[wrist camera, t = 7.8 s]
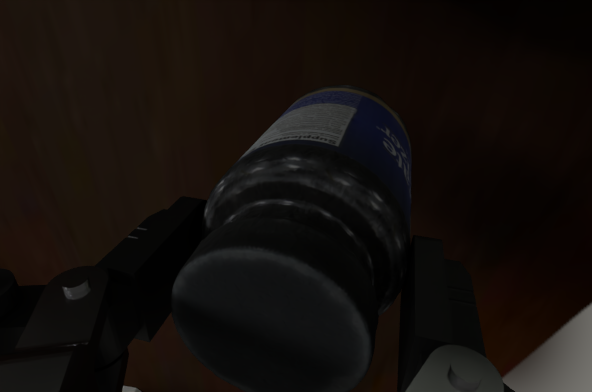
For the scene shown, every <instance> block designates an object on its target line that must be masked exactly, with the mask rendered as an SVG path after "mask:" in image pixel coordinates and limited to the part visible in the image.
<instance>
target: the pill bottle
mask: <svg viewBox="0 0 592 392" xmlns="http://www.w3.org/2000/svg"><path fill="white" fill-rule="evenodd" d="M411 154H412V153H411V143H410V137H409V134H408V132H407V129H406V126H405V124H404V122H403V120H402V119H401V117H400V116H399V115H398V113H397V112H395V111H394V110H393V109H392V108H391V107H388V106H387V105H386V103H385V102H384V101H383V100H382V99H381V98H380V97H379V96H378V95H376V94H375V93H372V92H370V91H368V90H365V89H363V88H359V87H354V86H350V85H338V86H328V87H323V88H319V89H315V90H312V91H311V92H309V93H307V94H306V95H304V96H302V97H301V98H299V99H298V100H296V101H295V102H294V103H293V104H292V105H291V106H290V107H289V108H288V109H287V110H286V111H285V112H284V113H283V115H282V116H281V117H280V118H279V119H278V120H277V121H276V122H275V123H274V124H273V125H272V126H271V127H270V128H269V129H268V130H267V131H266V132H265V133H264V134H263V135H262V136H261V137H260V138H259V139H258V140H257V141H256V143H255V144H254V145H253V146H252V147H251V148H250V149H249V150H248V151H247V152H246V153H245V154H244V155H243V156H242V157H241V158H240V159H239V160H238V161H237V162H236V163H235V164H234V165H233V166H232V167H231V168H230V169H229V170H228V172H227V173H226V174H225V175H224V176H223V177H222V178H221V179H220V180H219V182H218V183H217V184H216V186H215V187H214V189H213V190H212V191H211V194H210V197H209V199H208V201H207V203H206V206H205V209H204V214H203V218H202V226H201V227H202V229H201V230H202V241H201V242H200V244H199V245H198V247H197V248H196V250H195V251H194V252H193V254H192V255H191V256H190V258H189V259H188V260H187V262H186V263H185V265H184V266H183V267H182V269H181V270H180V272H179V274H178V275H177V278H176V280H175V282H174V285H173V289H172V294H171V309H172V317H173V320H174V323H175V325H176V329H177V331H178V333H179V334H180V336H181V338H182V339H183V342H184V343H185V345H186V346H187V347H188V349H189V350H190V351H191V352H192V354H193V355H194V356H195V357H196V358H197V359H198V360H199V361H200V362H201V363H202V364H203V365H204V366H205V367H207V368H208V369H209V370H211V371H212V372H213V373H214V374H215V375H216V376H218V377H219V378H221V379H223V380H224V381H226V382H228V383H230V384H232V385H234V386H236V387H238V388H239V389H241V390H243V391H246V392H348V391H350V390H351V389H353V388H355V387H356V386H357V384H358V383H359V382H361V380H362V379H363V377H364V376H365V375H366V373H367V371H368V369H369V366H370V364H371V361H372V357H373V352H374V348H375V333H376V329H377V325H378V317H379V315H381V314H382V313H384V312H385V311H386V310H387V309H388V308H389V307H390V306H391V305H392V304H393V302H394V300H395V299H396V297H397V295H398V294H399V293H400V291H401V289H402V287H403V285H404V283H405V280H406V275H407V270H408V267H409V258H410V253H411V251H410V221H411V214H410V212H411V163H412V160H411Z"/></svg>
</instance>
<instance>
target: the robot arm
mask: <svg viewBox="0 0 592 392" xmlns="http://www.w3.org/2000/svg"><path fill="white" fill-rule="evenodd" d="M206 203H207V201H206V200H202V199H196V198H190V197H184V196H183V197H180V198H179V199H178V200H177V201H176V202H175V203H174V204H173V205H172V206H171V207H170V208H169V209H168V210H165V209H163V210H161V211H159V212H157V213H155V214H153V215H151V216H149V217H148V218H146V219H145V220H144V221H143V222H142V223H141V224H140V225H139V226H138V227H137V229H134V230H133V231H132V232H131V233H130V234H129V235H128V238H125V239H124V240H123V241H121V242H120V243H119V244H118V245H117V246H116V247H115V248H114V249H113V250H112V251H111V252H109V253H108V254H107V255H106V256H105V257H104V258H103V259H102V260H101V261H100V262H99V263H97V264H96V265H95V266H82V267H77V268H73V269H70V270H67V271H65V272H63V273H61V274H59V275H57V276H56V277H54V278H53V279H52V280H51V281H50V282H49V283H48V284H47V285H33V286H18V284H17V282H16V280H15V277H14V275H13V273H12V272H11V271H9V270H6V269H0V392H122V389H123V384H124V379H125V373H126V368H127V363H128V357H129V352H128V348H127V346H128V345H129V344H130V342H131V341H132V340H133V338H136V339H139V340H143V341H147V342H150V341H151V340H152V338H153V337H154V335H155V334H156V333H157V331H158V330H159V328H160V327H161V326H162V324H163V323H164V321H165V320H166V319H167V317H168V316H169V314H170V313H171V312H172V309H171V294H172V289H173V285H174V282H175V280H176V278H177V275H178V274H179V272H180V270H181V269H182V267H183V266H184V265H185V263H186V262H187V260H188V259H189V258H190V256H191V255H192V254H193V252H194V251H195V250H196V248H197V247H198V245H199V244H200V242H201V241H202V230H201V229H202V227H201V226H202V218H203V214H204V209H205V206H206ZM410 251H411V253H410V258H409V267H408V270H407V275H406V280H405V283H404V285H403V287H402V292H401V306H400V332H399V358H398V385H397V392H515V391H513V390H512V389H510V388H509V387H508V386H507V385H506V384H504V383H503V381H502V378H501V376H500V374H499V372H498V370H497V369H496V368H495V367H494V365H493V364H492V363H491V362H490V361H489V360H488V359H487V358H486V354H485V349H484V343H483V338H482V333H481V328H480V322H479V317H478V312H477V307H476V301H475V296H474V294H473V286H472V280H471V276H470V275H469V273H468V272H467V271H466V269H465V268H464V267H463V265H462V264H461V263H460V262H459V261H453V260H447V259H444V253H443V244H442V240H440V239H434V238H428V237H422V236H416V235H414V236H413V238H412V242H411V247H410Z"/></svg>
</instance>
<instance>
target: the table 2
mask: <svg viewBox="0 0 592 392" xmlns="http://www.w3.org/2000/svg"><path fill="white" fill-rule="evenodd" d="M122 392H142V391H140V390H139V389H137V388H133V387H128V386H123V389H122Z"/></svg>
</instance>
